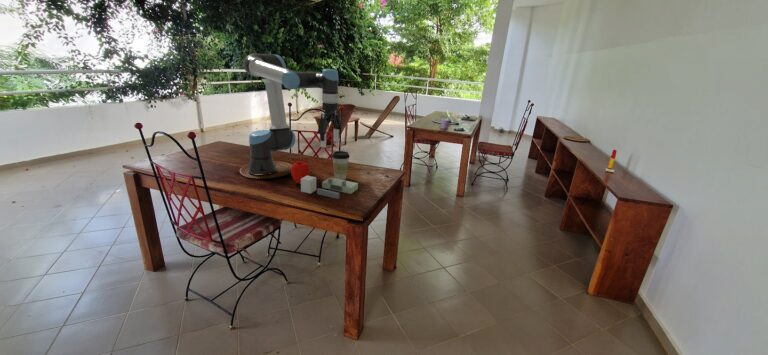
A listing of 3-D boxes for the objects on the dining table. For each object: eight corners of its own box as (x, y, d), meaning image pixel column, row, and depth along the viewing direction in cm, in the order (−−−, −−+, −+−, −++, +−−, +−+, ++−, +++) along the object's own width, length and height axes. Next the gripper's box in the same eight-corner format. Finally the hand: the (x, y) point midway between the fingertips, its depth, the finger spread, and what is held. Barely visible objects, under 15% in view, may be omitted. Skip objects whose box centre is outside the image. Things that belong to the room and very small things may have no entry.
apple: (288, 181, 179) (287, 159, 175) (305, 178, 184) (304, 157, 180) (295, 187, 171) (294, 165, 167) (312, 184, 177) (312, 162, 173)
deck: (312, 193, 166) (312, 182, 164) (329, 182, 180) (330, 173, 178) (342, 200, 160) (342, 189, 158) (357, 188, 175) (358, 178, 173)
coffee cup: (346, 182, 182) (346, 156, 177) (329, 180, 184) (329, 154, 179) (351, 176, 191) (351, 151, 186) (335, 174, 193) (335, 150, 188)
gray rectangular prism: (301, 191, 167) (300, 178, 164) (307, 188, 172) (307, 175, 169) (310, 193, 165) (310, 180, 163) (316, 190, 170) (316, 177, 167)
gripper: (324, 105, 150) (324, 150, 157) (347, 100, 172) (346, 140, 180) (309, 104, 152) (310, 148, 160) (335, 99, 175) (334, 138, 182)
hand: (329, 144), depth 170 cm, fingers open, 13 cm apart
